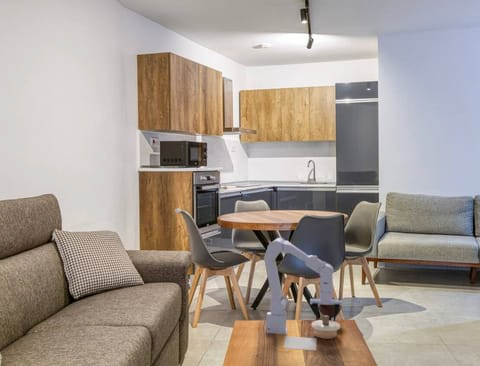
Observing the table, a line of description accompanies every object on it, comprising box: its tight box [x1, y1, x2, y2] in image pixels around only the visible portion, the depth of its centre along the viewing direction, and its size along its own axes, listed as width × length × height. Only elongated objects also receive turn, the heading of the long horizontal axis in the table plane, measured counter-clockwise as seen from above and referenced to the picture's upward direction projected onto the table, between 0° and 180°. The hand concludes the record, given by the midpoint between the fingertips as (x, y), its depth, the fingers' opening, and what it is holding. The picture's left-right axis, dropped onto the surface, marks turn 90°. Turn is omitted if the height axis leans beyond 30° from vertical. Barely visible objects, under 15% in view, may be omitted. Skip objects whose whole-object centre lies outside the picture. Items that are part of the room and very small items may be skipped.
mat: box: [283, 335, 318, 351], centre depth 219 cm, size 14×14×1 cm
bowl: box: [314, 329, 338, 340], centre depth 228 cm, size 10×10×5 cm
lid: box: [311, 314, 341, 331], centre depth 227 cm, size 13×13×5 cm
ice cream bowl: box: [318, 296, 342, 321], centre depth 243 cm, size 11×11×15 cm
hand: (325, 320), depth 228 cm, fingers open, 7 cm apart
